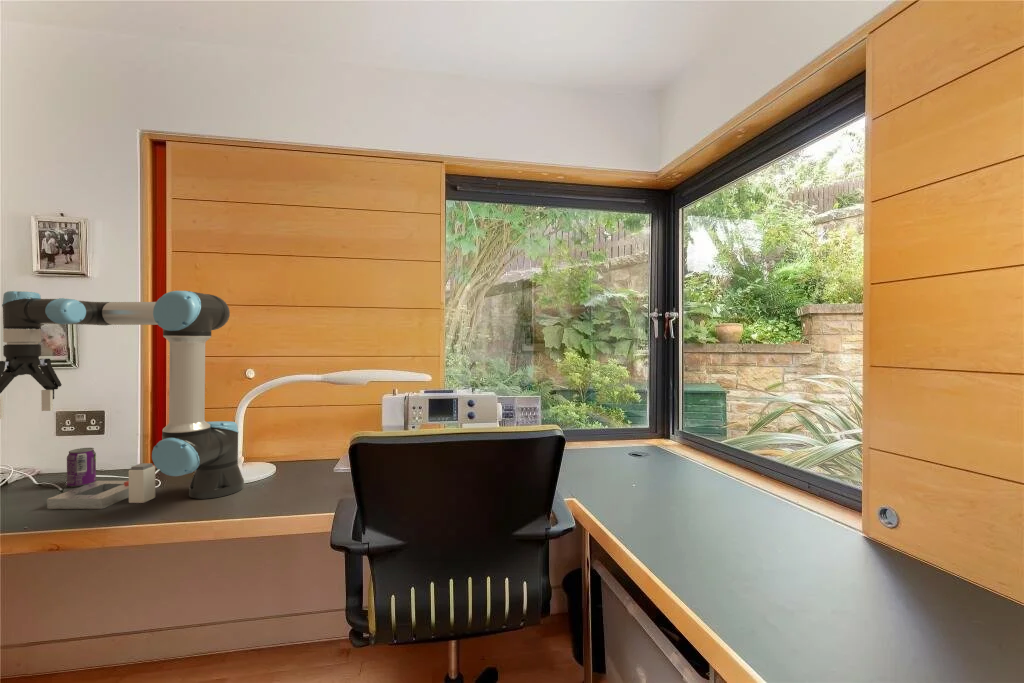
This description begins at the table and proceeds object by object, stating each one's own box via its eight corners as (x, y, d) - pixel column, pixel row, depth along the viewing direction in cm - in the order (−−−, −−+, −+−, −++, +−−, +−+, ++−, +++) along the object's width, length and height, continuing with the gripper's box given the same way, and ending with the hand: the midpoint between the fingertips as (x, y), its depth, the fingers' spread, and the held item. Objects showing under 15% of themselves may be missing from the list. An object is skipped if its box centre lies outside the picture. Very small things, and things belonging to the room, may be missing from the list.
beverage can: (101, 481, 153) (101, 447, 153) (82, 488, 146) (82, 452, 146) (80, 481, 153) (80, 447, 153) (60, 488, 146) (60, 452, 146)
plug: (155, 497, 138) (155, 462, 138) (143, 502, 134) (143, 467, 134) (140, 497, 138) (140, 462, 138) (128, 502, 134) (128, 467, 134)
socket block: (146, 489, 145) (146, 478, 145) (102, 508, 129) (102, 496, 129) (97, 489, 145) (97, 478, 145) (47, 508, 129) (47, 496, 129)
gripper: (53, 342, 142) (53, 407, 142) (-43, 344, 117) (-42, 422, 117) (76, 342, 142) (77, 407, 143) (-15, 344, 117) (-14, 422, 118)
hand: (23, 414), depth 130 cm, fingers open, 13 cm apart
